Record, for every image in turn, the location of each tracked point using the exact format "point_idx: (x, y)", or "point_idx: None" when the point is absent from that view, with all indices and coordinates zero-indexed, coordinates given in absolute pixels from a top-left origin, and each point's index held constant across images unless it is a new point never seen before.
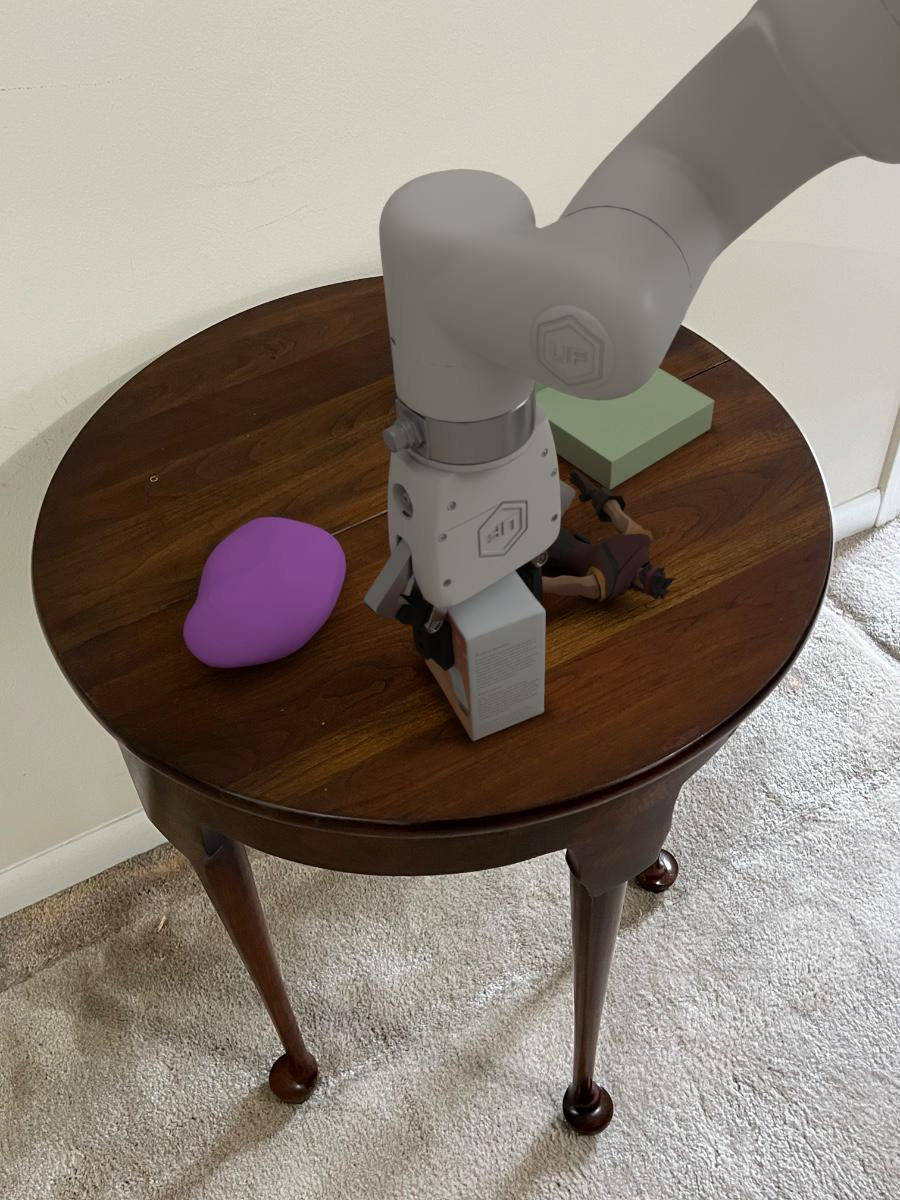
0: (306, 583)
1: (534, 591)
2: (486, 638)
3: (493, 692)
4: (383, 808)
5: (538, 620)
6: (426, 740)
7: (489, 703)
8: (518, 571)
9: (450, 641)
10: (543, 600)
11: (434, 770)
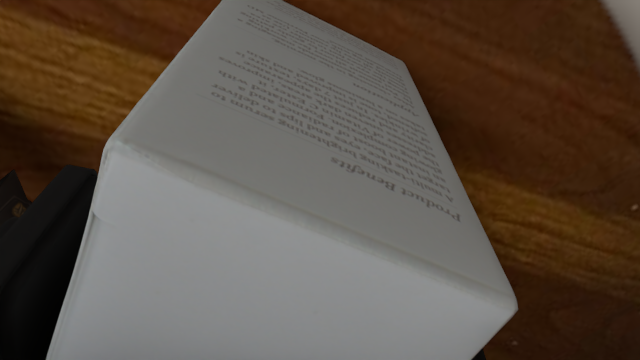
0: None
1: (36, 231)
2: (429, 248)
3: (375, 89)
4: (636, 103)
5: (170, 134)
6: (449, 138)
7: (381, 80)
8: (27, 336)
9: None
10: (10, 173)
11: (507, 81)
